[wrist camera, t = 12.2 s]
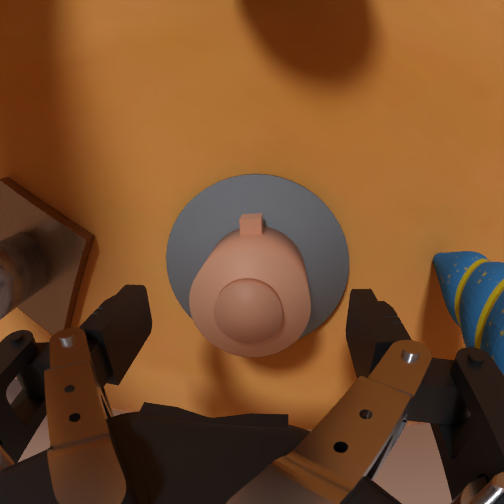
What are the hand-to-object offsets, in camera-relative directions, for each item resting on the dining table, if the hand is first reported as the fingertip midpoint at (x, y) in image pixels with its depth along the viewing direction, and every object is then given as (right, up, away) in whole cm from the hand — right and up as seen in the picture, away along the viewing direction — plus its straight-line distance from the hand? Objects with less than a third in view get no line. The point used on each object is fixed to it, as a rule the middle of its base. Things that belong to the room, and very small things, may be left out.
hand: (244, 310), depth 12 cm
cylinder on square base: (-16, +2, +7) cm, 17 cm away
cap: (+1, +1, +5) cm, 5 cm away
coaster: (+1, +1, +6) cm, 6 cm away
